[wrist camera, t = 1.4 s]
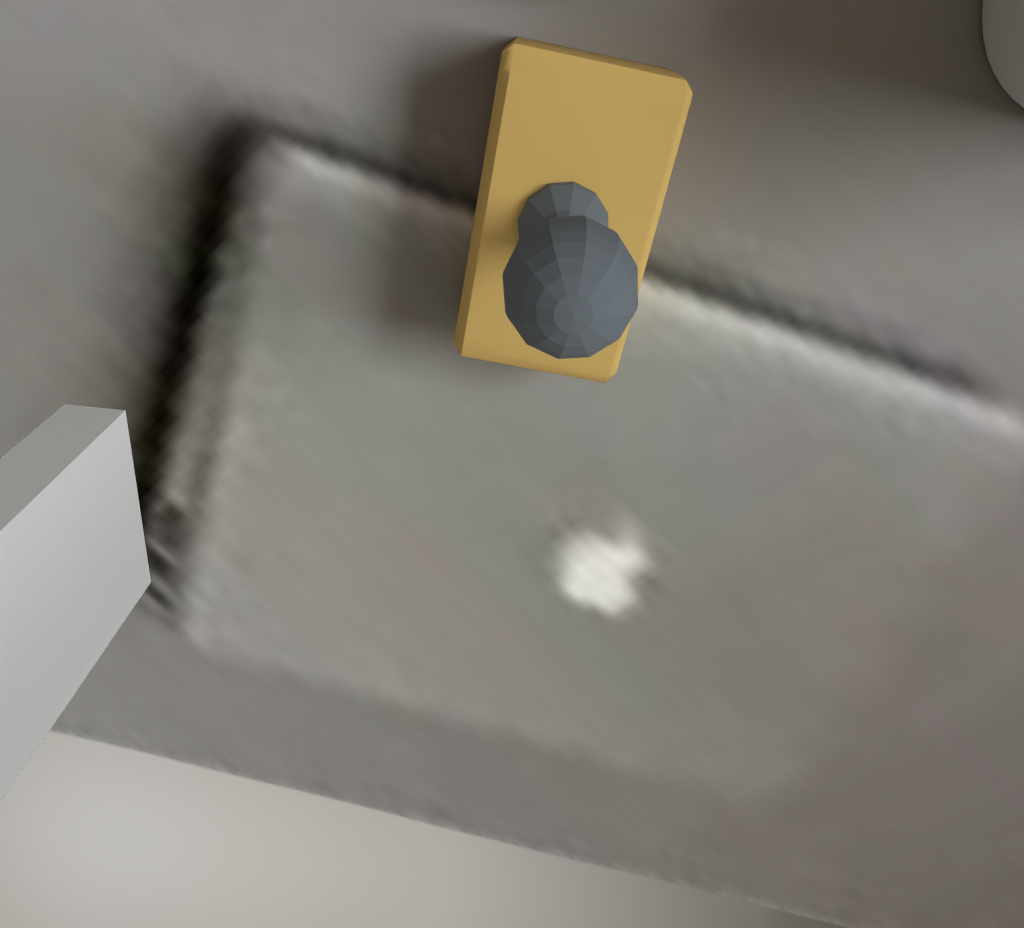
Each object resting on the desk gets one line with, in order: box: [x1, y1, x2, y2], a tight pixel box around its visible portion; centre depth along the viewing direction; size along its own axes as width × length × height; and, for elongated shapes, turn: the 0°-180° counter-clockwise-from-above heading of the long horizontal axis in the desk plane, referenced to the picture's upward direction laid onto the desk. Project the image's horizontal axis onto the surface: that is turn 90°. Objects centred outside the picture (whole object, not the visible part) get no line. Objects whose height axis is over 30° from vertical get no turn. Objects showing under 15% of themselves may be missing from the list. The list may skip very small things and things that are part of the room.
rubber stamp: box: [454, 37, 693, 383], centre depth 24 cm, size 10×6×12 cm, turn 169°
